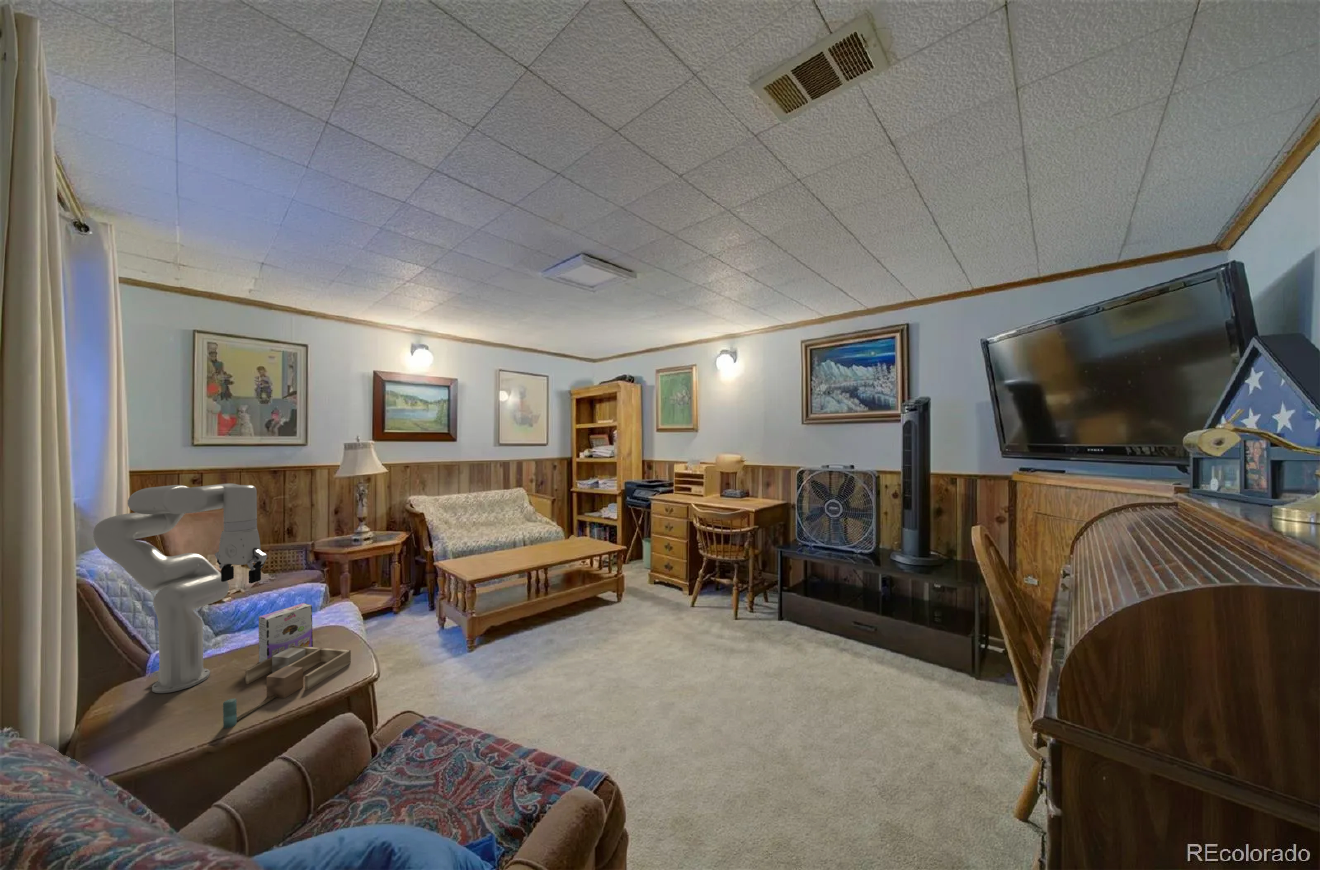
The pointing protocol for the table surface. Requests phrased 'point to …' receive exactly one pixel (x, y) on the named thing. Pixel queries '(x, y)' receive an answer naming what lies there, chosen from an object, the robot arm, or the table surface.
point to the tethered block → (277, 687)
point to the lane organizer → (307, 664)
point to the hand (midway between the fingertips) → (241, 581)
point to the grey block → (286, 658)
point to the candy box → (285, 630)
